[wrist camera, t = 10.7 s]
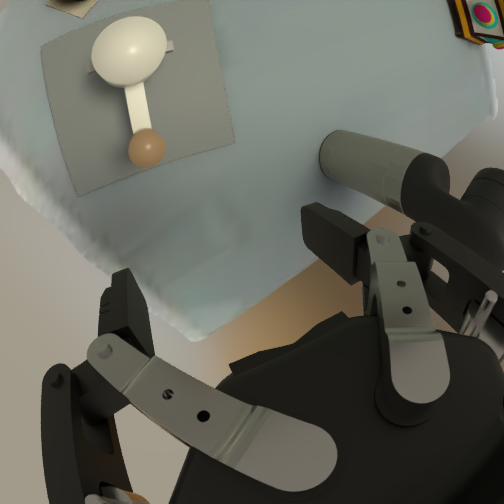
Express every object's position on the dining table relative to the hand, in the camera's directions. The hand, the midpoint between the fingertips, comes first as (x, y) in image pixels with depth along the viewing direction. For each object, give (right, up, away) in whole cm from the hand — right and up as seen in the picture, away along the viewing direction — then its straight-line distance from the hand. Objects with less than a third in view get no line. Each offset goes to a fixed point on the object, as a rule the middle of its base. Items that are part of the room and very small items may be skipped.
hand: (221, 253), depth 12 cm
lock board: (-13, +20, +15) cm, 28 cm away
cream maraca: (-11, +17, +11) cm, 24 cm away
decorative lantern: (+64, +72, +23) cm, 99 cm away
